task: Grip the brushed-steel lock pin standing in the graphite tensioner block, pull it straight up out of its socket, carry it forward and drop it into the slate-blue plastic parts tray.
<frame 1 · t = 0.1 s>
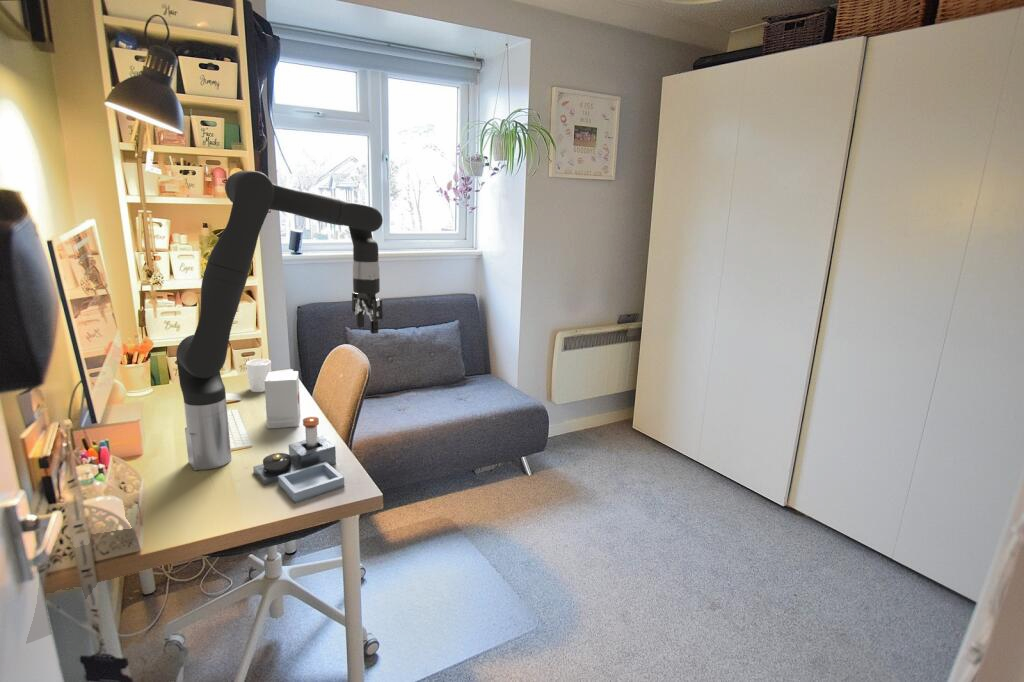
hand: (367, 330, 164), 29 cm above the table, fingers open, 8 cm apart
lock pin: (311, 441, 142), in the tensioner block
tensioner block: (312, 462, 144), on the table
white cup: (260, 389, 194), on the table
parts tray: (311, 485, 133), on the table
supplement box: (284, 422, 168), on the table
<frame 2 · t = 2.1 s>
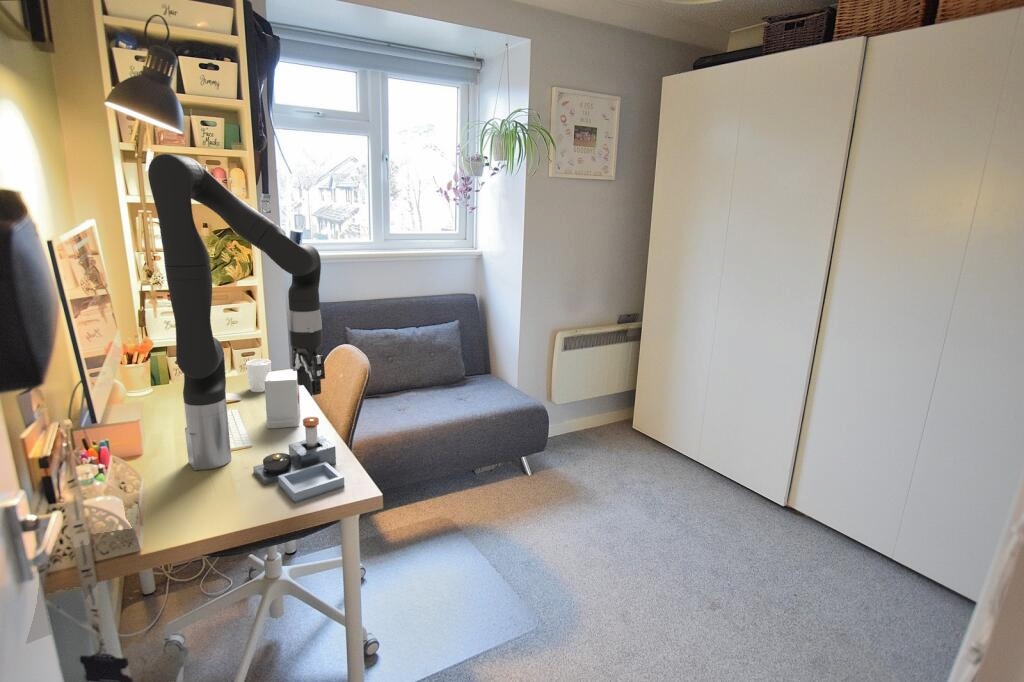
hand: (309, 389, 139), 20 cm above the table, fingers open, 8 cm apart
nothing on the table moved.
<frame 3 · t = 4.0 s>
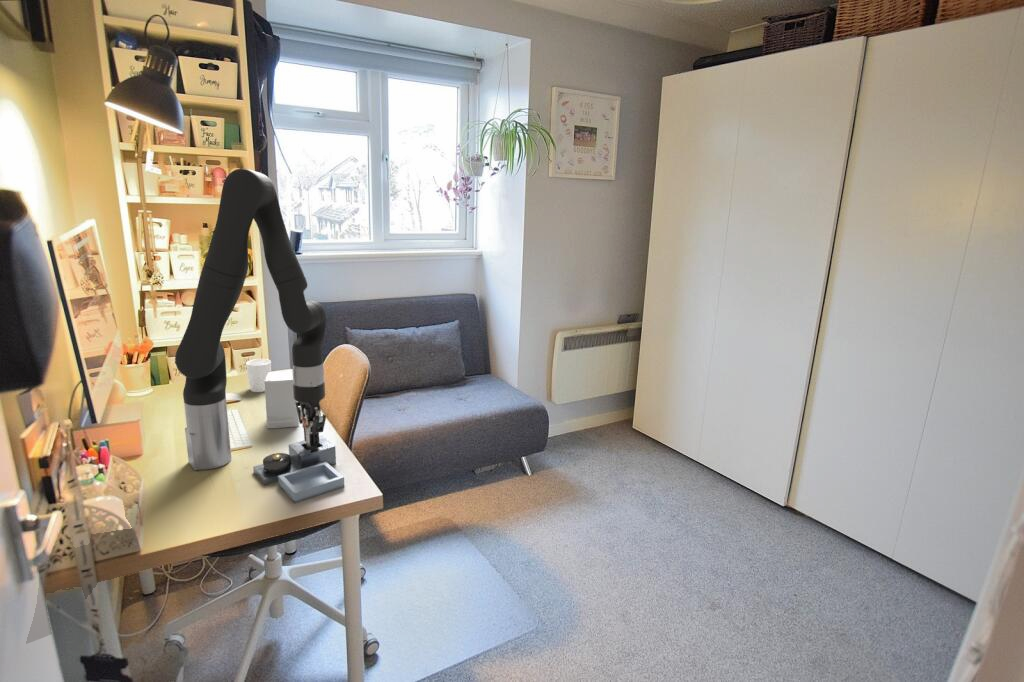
hand: (311, 443, 142), 6 cm above the table, fingers closed on lock pin, 2 cm apart
lock pin: (311, 441, 142), in the tensioner block, touching gripper
everything else where it was.
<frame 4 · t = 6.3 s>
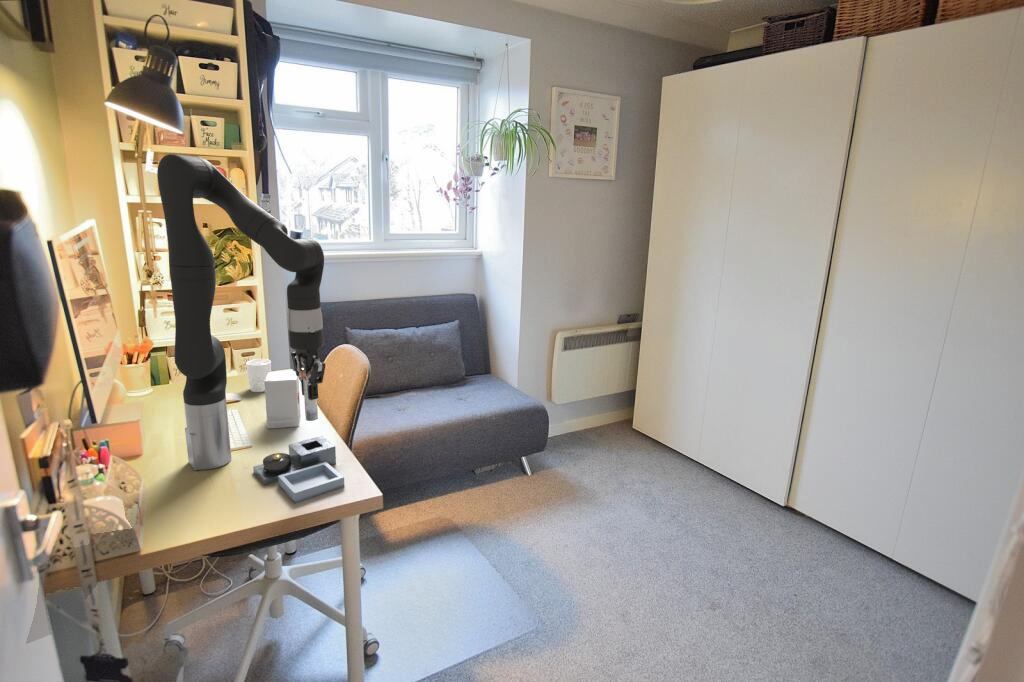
hand: (310, 396, 131), 22 cm above the table, fingers closed on lock pin, 2 cm apart
lock pin: (310, 394, 131), point 22 cm above the table, touching gripper
everything else where it was.
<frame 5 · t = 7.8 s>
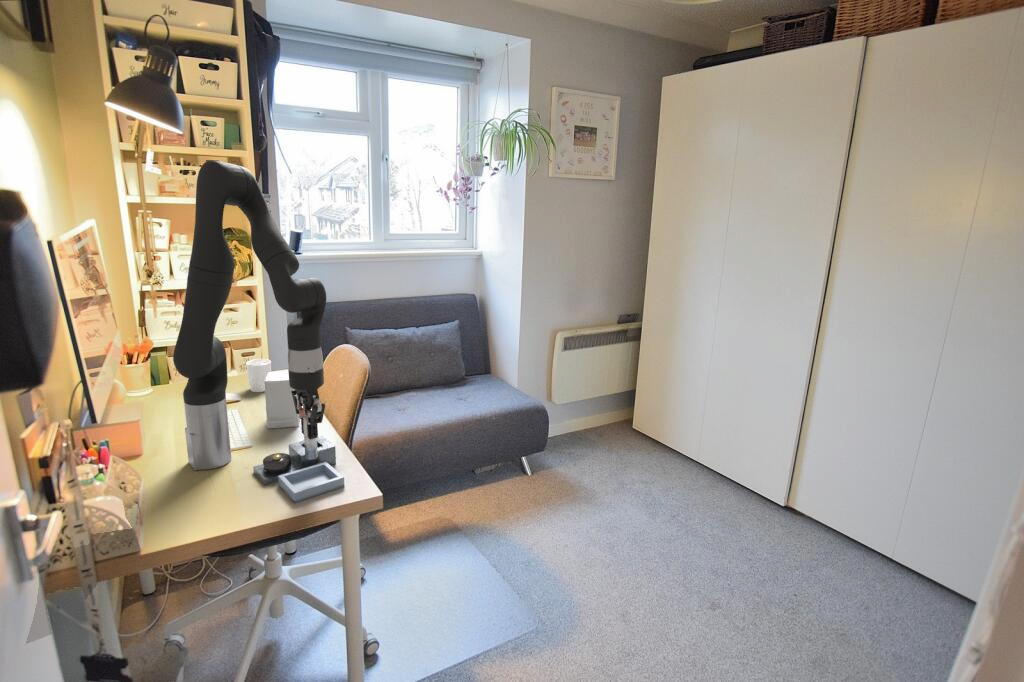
hand: (309, 435, 130), 13 cm above the table, fingers closed on lock pin, 2 cm apart
lock pin: (310, 433, 129), point 14 cm above the table, touching gripper
everything else where it was.
when the fingers open (8 cm above the table, at t = 8.8 s): lock pin drops 1 cm, point 7 cm above the table.
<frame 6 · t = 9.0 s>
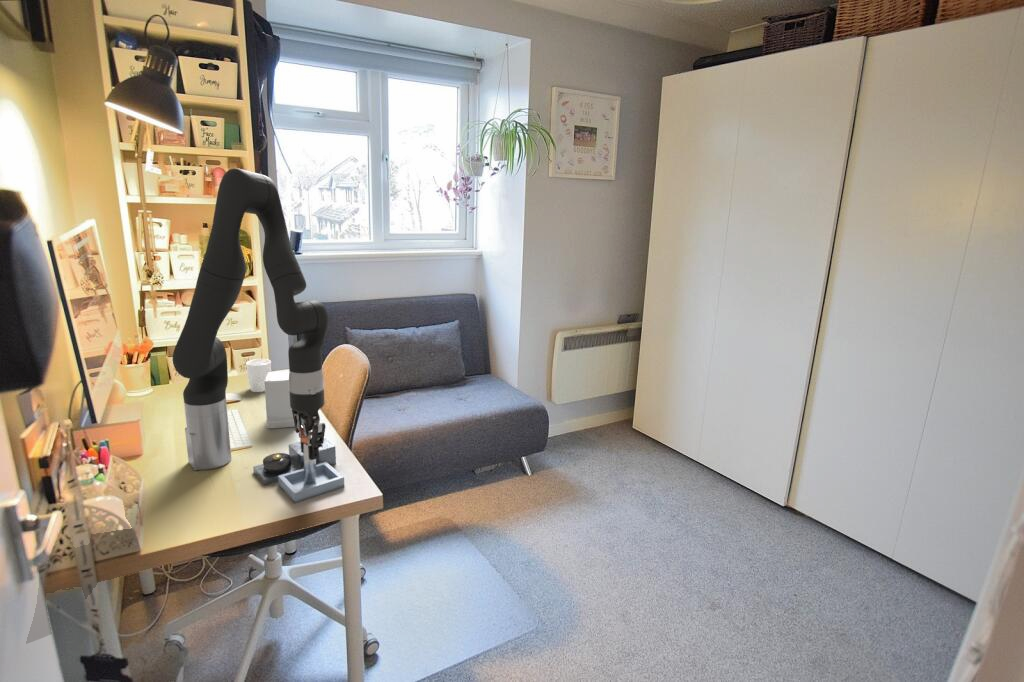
hand: (310, 454, 131), 8 cm above the table, fingers open, 4 cm apart
lock pin: (309, 458, 131), in the parts tray, point 7 cm above the table, tilted 5°, touching gripper
everything else where it was.
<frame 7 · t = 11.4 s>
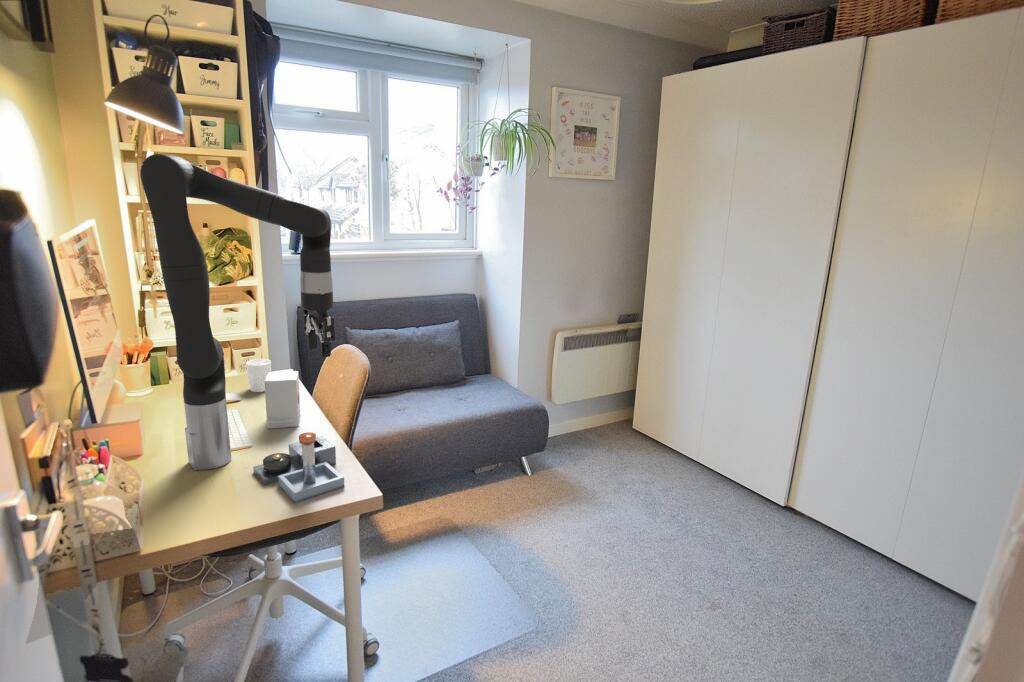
hand: (319, 352, 139), 29 cm above the table, fingers open, 8 cm apart
lock pin: (308, 459, 132), in the parts tray
everything else where it was.
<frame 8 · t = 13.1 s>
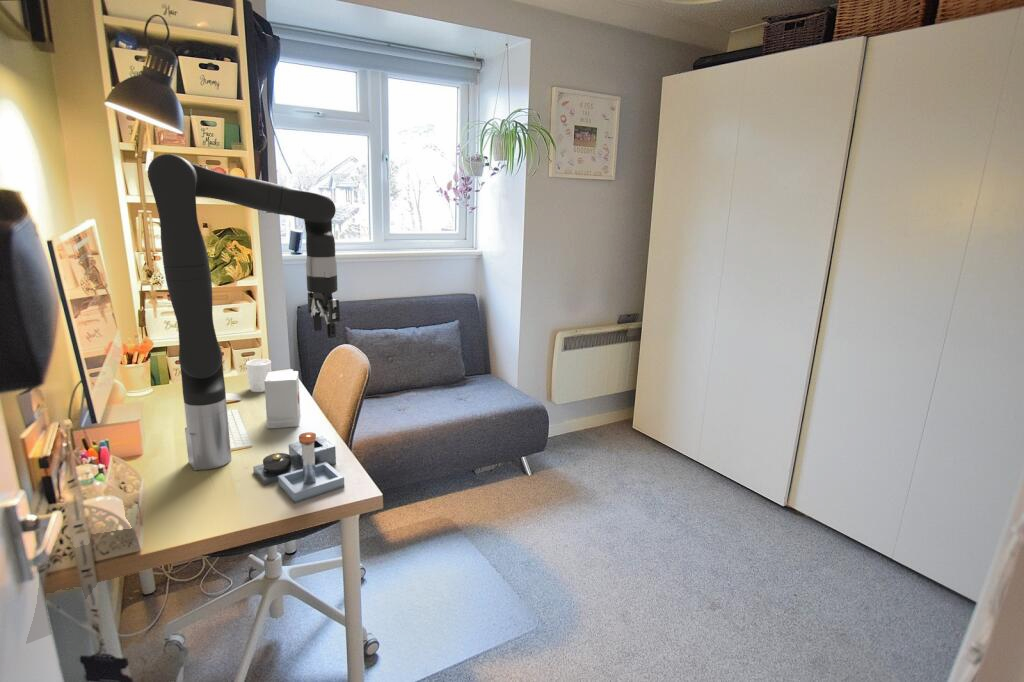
hand: (324, 333, 146), 32 cm above the table, fingers open, 8 cm apart
nothing on the table moved.
at the end: lock pin inside the target area on the parts tray (1.3 cm from its centre), point 6.6 cm above the parts tray's base; the gripper is holding nothing; lock pin moved 10.9 cm from its start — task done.
